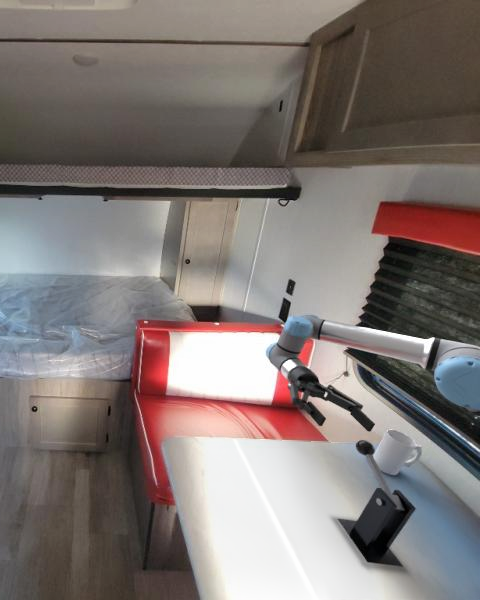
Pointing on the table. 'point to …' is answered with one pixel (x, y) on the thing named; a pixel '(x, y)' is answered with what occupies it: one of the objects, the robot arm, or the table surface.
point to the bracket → (379, 527)
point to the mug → (396, 452)
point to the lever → (377, 471)
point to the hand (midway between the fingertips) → (347, 425)
